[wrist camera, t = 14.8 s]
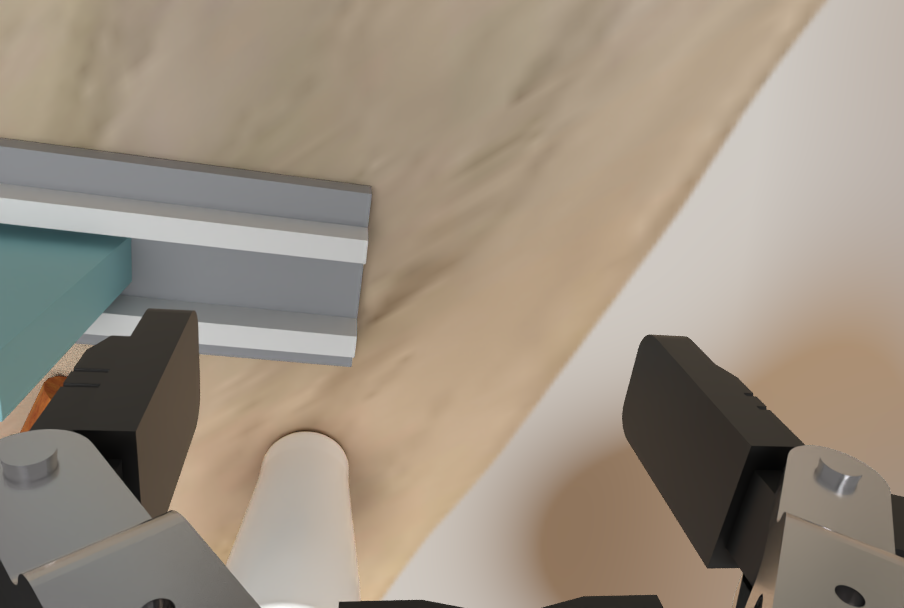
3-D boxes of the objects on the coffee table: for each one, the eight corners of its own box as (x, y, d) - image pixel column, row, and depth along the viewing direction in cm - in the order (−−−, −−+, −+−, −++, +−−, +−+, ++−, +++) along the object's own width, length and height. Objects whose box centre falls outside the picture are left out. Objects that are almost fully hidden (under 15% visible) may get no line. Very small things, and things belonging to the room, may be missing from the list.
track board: (-124, 121, 33) (-193, 134, 29) (371, 186, 37) (372, 205, 33) (-99, 311, 37) (-158, 346, 33) (351, 351, 41) (350, 387, 37)
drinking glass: (358, 508, 45) (357, 718, 31) (251, 508, 44) (201, 726, 30) (363, 417, 43) (364, 602, 29) (250, 415, 42) (195, 606, 28)
